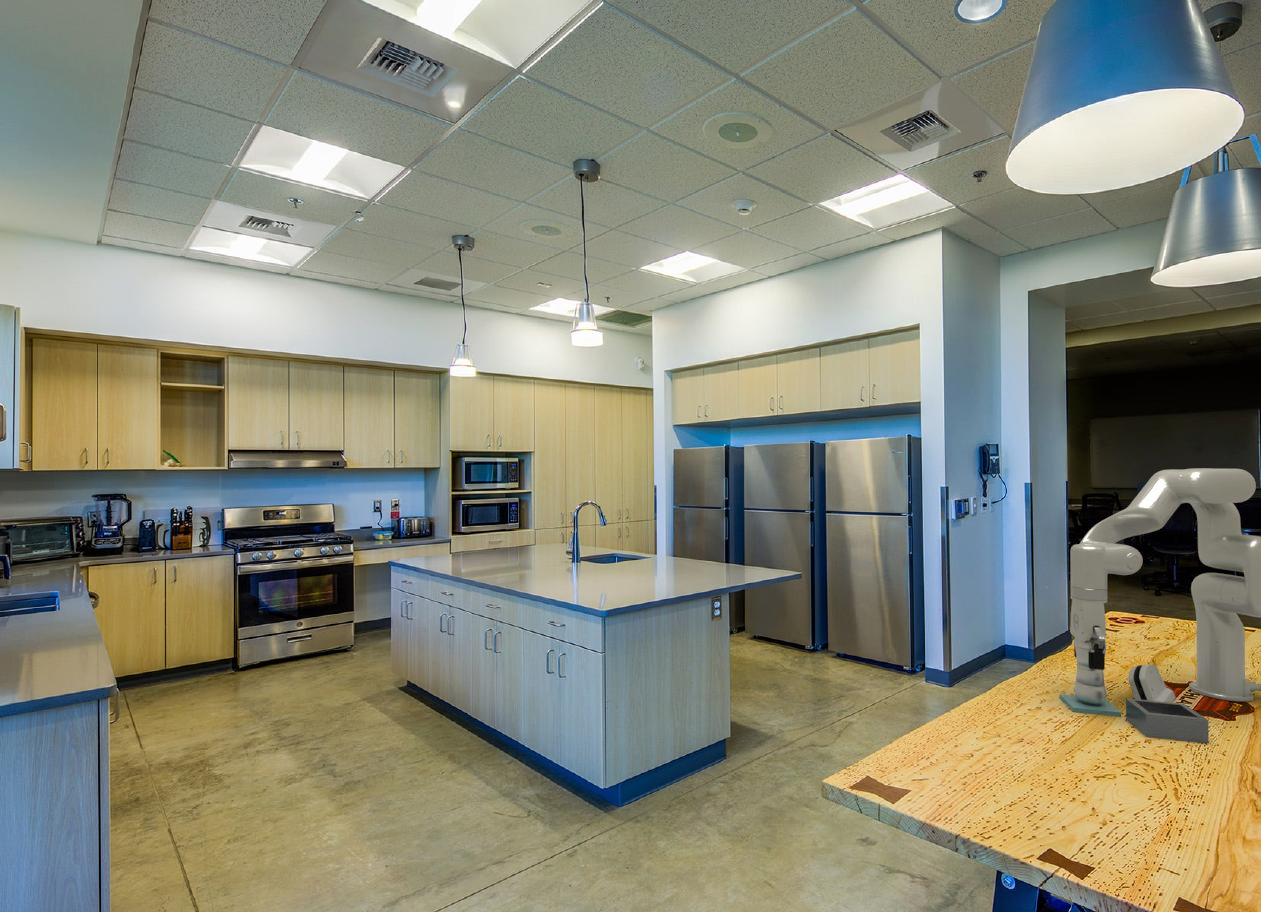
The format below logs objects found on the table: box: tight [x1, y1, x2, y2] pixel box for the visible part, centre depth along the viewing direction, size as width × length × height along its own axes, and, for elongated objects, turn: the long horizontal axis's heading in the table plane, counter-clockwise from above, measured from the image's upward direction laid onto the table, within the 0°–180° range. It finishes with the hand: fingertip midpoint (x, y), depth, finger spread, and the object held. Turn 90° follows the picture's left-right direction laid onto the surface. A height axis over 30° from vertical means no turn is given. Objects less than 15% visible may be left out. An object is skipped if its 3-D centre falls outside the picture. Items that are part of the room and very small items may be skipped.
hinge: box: [1127, 663, 1177, 703], centre depth 168 cm, size 17×5×10 cm, turn 132°
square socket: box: [1125, 697, 1209, 744], centre depth 149 cm, size 11×10×5 cm
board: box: [1058, 693, 1122, 718], centre depth 163 cm, size 10×10×1 cm
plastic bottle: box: [1073, 632, 1107, 704], centre depth 163 cm, size 6×7×20 cm
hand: (1089, 663), depth 163 cm, fingers open, 9 cm apart
